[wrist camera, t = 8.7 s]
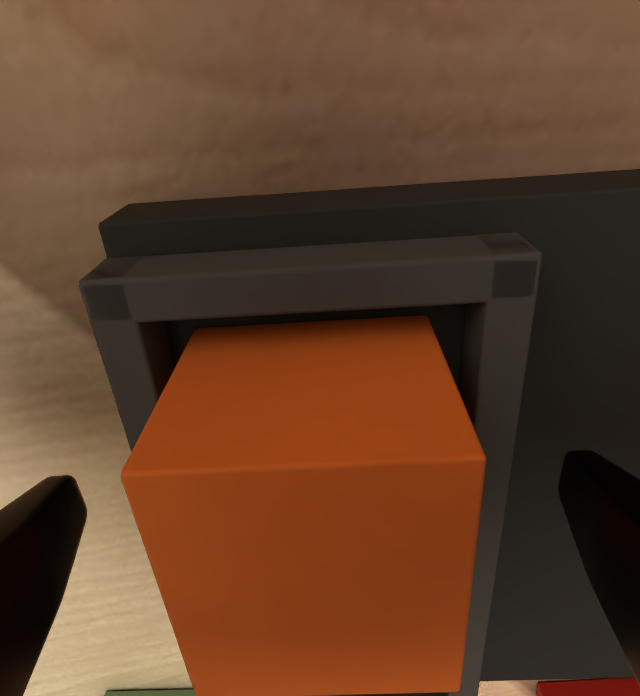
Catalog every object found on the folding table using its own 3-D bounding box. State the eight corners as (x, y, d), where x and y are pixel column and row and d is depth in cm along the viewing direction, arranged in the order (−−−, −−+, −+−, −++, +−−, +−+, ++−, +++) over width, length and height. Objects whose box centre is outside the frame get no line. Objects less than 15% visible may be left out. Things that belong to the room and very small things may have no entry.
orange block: (234, 515, 12) (195, 700, 8) (194, 326, 10) (117, 474, 6) (421, 508, 12) (461, 693, 8) (428, 313, 9) (488, 457, 6)
